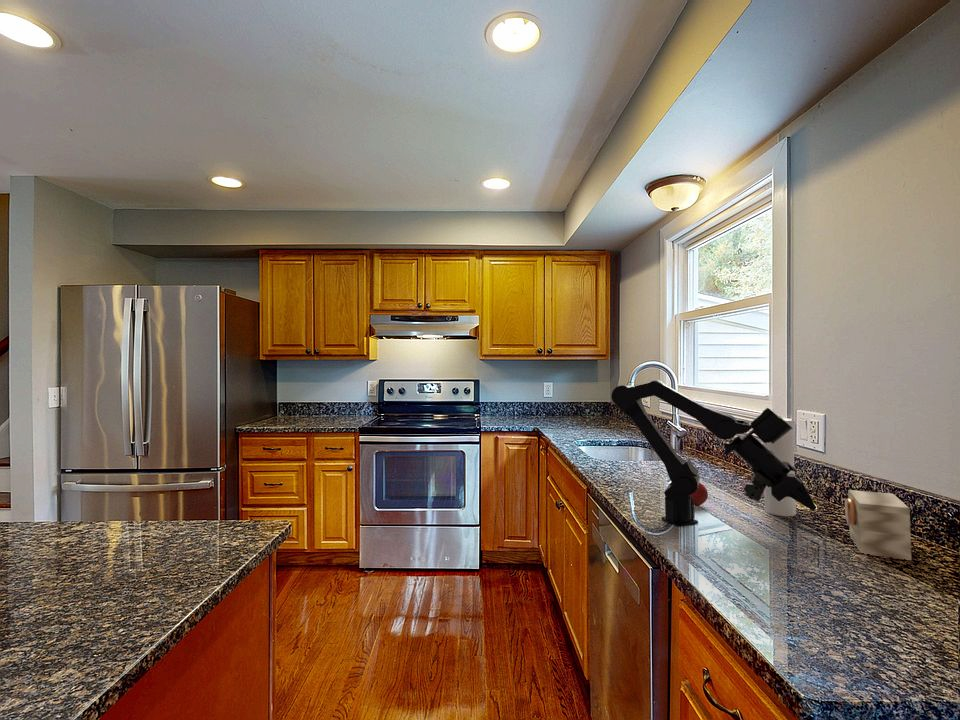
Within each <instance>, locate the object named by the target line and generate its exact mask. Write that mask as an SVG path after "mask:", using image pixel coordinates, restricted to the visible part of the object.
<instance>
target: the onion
mask: <svg viewBox="0 0 960 720" xmlns="http://www.w3.org/2000/svg"><path fill="white" fill-rule="evenodd" d="M689 496H690V497H693V503H694V506H695V507H697V508H698V507H700V506H701V505H703V504H704V503H705V502H706V501H708V498H709V497H708V496H709V494H708V489H707V488H706V486H705V485H704V484H702V483H701V481H699V485H698V488H697V490H696V491H695V492H694V493H693V494H691V495H689Z"/></svg>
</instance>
